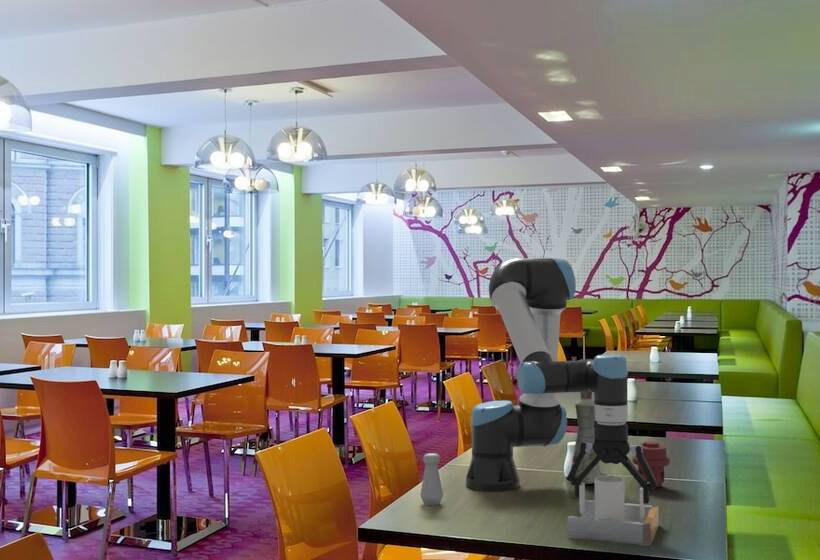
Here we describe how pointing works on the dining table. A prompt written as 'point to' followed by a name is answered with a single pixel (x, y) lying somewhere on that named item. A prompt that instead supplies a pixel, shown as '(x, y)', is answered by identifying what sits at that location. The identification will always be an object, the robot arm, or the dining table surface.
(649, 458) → the mechanical component
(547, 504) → the dining table surface
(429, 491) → the salt shaker
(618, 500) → the mug
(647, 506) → the channel
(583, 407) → the bottle
